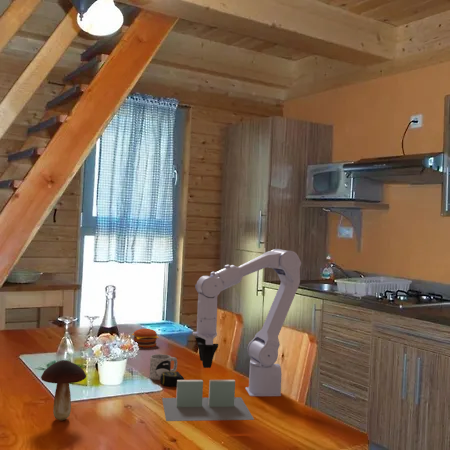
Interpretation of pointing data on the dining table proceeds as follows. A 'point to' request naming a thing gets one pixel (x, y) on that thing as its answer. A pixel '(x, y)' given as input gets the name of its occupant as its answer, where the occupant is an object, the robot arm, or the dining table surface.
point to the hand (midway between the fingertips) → (205, 363)
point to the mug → (161, 365)
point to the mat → (206, 411)
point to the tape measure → (170, 378)
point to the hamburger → (145, 338)
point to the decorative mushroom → (63, 385)
